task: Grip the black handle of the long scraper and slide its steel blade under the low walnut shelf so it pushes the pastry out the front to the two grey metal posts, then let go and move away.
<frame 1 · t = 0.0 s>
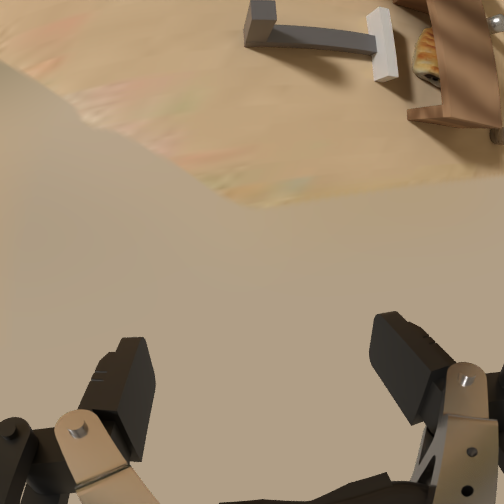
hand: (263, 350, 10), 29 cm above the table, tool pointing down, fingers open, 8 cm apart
pastry: (426, 60, 35), on the table
scraper: (317, 40, 33), on the table
goal posts: (490, 79, 35), on the table
low shelf: (429, 59, 34), on the table
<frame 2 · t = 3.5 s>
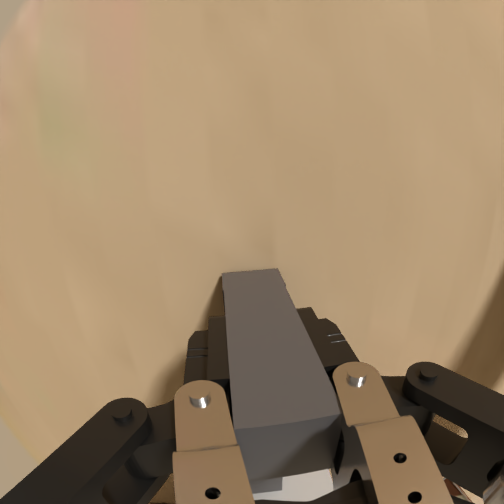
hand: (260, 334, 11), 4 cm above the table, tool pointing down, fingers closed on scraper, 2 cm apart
food container: (428, 495, 27), on the table
scraper: (258, 413, 17), on the table, touching gripper
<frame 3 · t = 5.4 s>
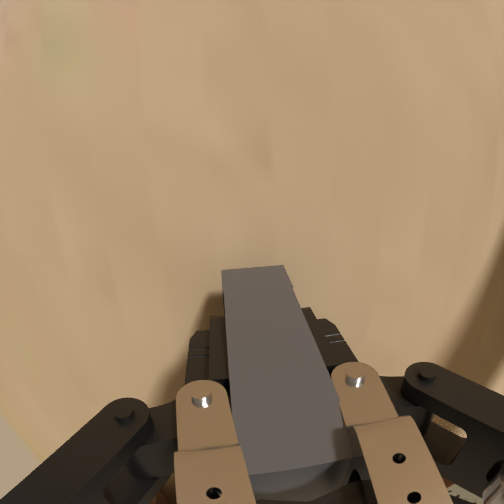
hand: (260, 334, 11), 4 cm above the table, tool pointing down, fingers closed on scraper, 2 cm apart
food container: (441, 479, 26), on the table
scraper: (259, 412, 16), point 1 cm above the table, touching gripper
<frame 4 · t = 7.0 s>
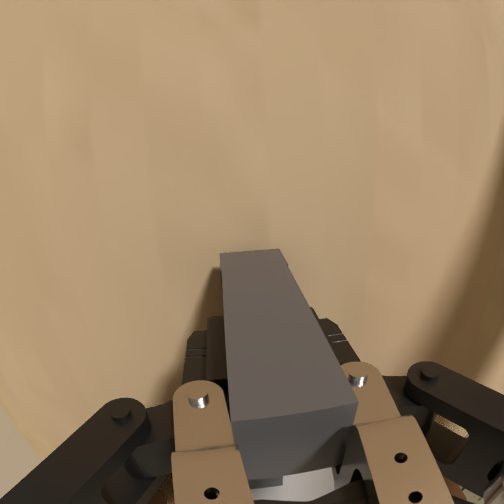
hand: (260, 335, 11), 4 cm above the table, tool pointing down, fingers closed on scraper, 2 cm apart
scraper: (257, 404, 17), on the table, touching gripper
low shelf: (263, 469, 19), on the table
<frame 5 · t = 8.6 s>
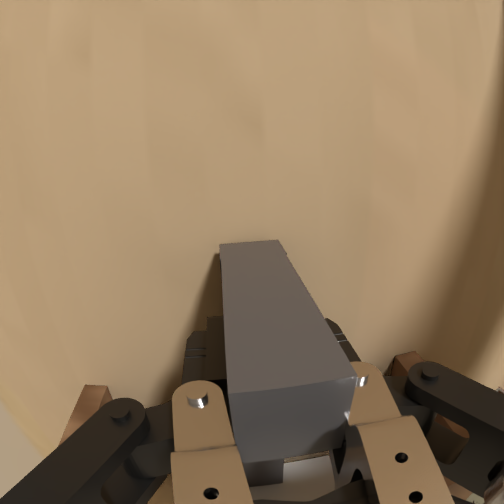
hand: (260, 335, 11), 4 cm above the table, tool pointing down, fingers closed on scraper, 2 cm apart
scraper: (257, 399, 17), on the table, touching gripper
low shelf: (258, 435, 18), on the table
when the fingers open (4 cm above the table, at t = 9.8 s): scraper stays where it is, on the table.
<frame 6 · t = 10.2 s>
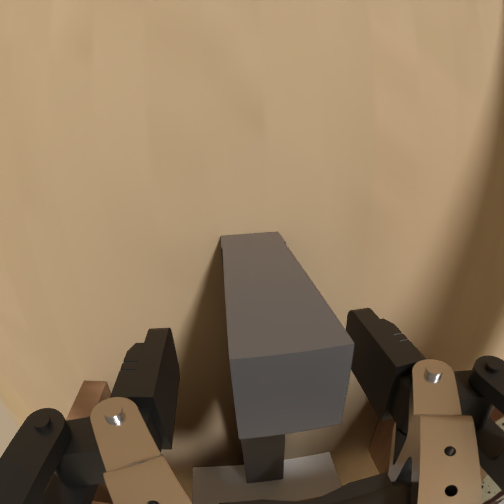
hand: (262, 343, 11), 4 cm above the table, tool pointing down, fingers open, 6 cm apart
food container: (474, 425, 23), on the table
scraper: (258, 392, 17), on the table
low shelf: (258, 432, 18), on the table
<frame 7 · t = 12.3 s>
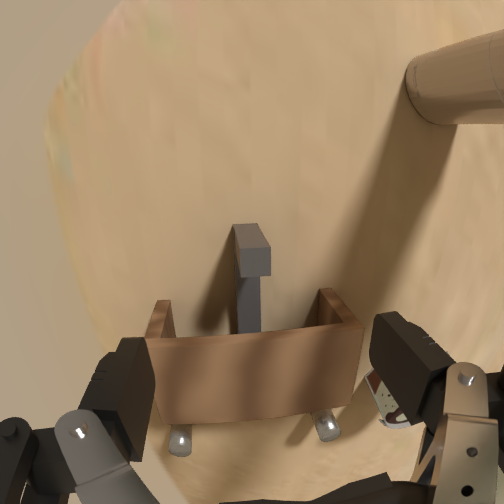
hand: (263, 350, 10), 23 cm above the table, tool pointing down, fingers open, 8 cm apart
food container: (396, 361, 42), on the table
scraper: (247, 303, 36), on the table
goal posts: (251, 415, 41), on the table
low shelf: (247, 333, 37), on the table
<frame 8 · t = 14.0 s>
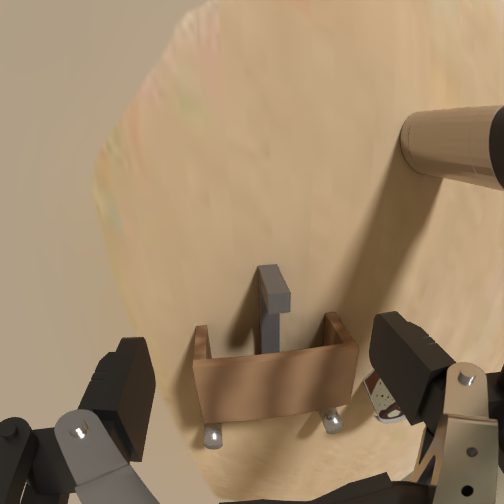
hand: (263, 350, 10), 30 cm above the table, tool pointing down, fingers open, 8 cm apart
food container: (390, 367, 51), on the table
scraper: (268, 325, 45), on the table
goal posts: (270, 413, 50), on the table
low shelf: (268, 348, 46), on the table
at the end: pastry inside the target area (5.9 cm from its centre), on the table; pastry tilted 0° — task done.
